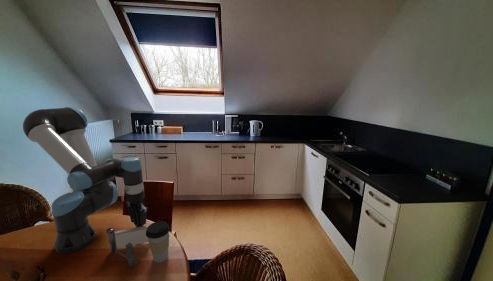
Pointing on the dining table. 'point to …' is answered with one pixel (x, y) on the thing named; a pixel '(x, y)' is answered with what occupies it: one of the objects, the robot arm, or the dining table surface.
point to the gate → (131, 236)
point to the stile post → (130, 255)
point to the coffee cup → (158, 240)
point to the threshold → (123, 255)
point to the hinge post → (112, 239)
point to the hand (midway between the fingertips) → (140, 236)
